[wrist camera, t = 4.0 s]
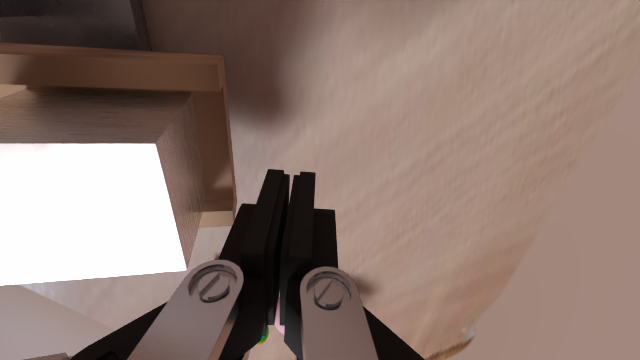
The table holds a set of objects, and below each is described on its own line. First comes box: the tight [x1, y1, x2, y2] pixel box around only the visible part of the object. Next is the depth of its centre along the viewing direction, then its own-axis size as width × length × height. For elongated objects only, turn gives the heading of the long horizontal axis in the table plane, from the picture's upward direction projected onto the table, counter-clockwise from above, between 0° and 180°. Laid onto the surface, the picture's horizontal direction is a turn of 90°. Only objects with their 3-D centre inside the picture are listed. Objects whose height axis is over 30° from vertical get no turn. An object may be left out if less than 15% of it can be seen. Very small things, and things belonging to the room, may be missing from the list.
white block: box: [0, 88, 208, 285], centre depth 11 cm, size 6×5×5 cm
